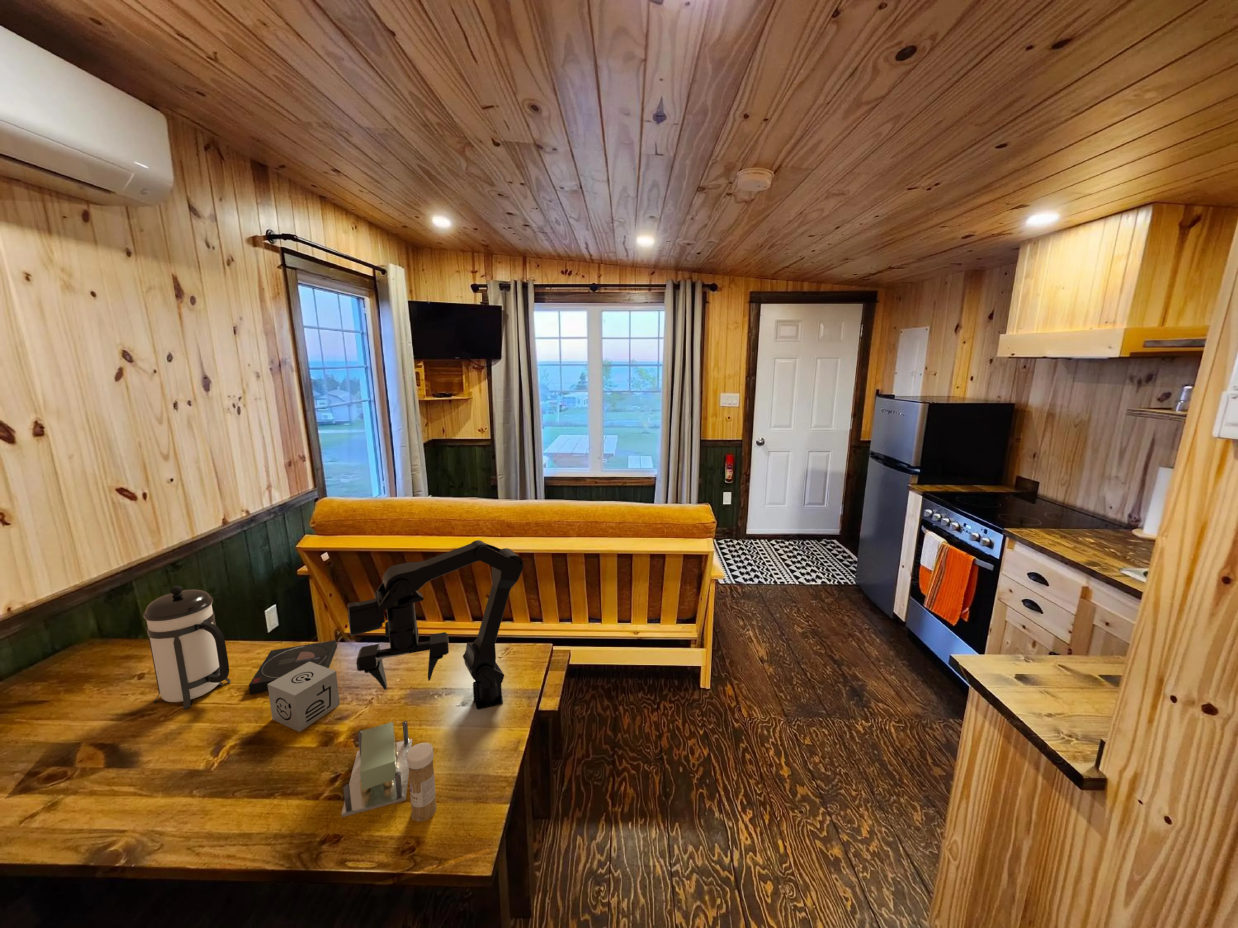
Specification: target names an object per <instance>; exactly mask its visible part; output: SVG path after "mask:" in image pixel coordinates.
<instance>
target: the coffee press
mask: <svg viewBox="0 0 1238 928" xmlns="http://www.w3.org/2000/svg"><path fill="white" fill-rule="evenodd" d="M169 592H170V593H167V594H164V595H161V596H159V597H158V598H156V599H154V600H152V601H151V602H150V603H149V604H148V605H147V606H146V609H145V611H144V612H143V615H142V616H143V618H144V619H145V621H146V624H147V626H146V632H147V636H148V641H149V645H150V650H151V657H152V663H153V669H154V672H155V673H154V675H155V678H156V684H157V690H158V694H157V696H156V697H155V699H154V701H153V704H156V703H157V699H158V698H159V696H160V698H161V699H162V701H161V702H162V703H163V702H164V701H165V702H169V703H181V702H183V703H182V709H183V711H185V710H189V709H191V706H192V705H193V699H196V698H199V697H201V696H204V695H205V694H208V693H209V692H210V691H212V690H214V689H215V688H216V687H217V686H220V687H223V684H224V682H223V681H225V682H227V683H228V684H231V679H230V678H228V677H229V674H230V666H229V665H230V664H229V656H228V650H227V645H226V640H225V637H224V634H223V632H222V631H221V629H220V627H218V626H217V623H216V619H215V618H216V617H215V616H216V615H215V612H214V609H213V606H212V604H213V602H214V598H213V596H211V594H209V593H208V592H206V591H205V590H200V589H184V590H183V587H182V586H180V585H174V586H173V587H171V588H170V590H169Z"/></svg>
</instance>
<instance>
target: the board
mask: <svg viewBox="0 0 1238 928" xmlns="http://www.w3.org/2000/svg"><path fill="white" fill-rule="evenodd" d="M395 740H396V739H395V727H394V721H391V722H387V723H384V724H381V725H377V726H374V727H370V728H366V729H363V731H362V740H361V764H360V776H361V785H362V790H365V789H368V788H371V787H374V786H377V785H379V784H382V783H385V782H388V781H391V780H394V779H395V773H396V758H395V743H396V741H395Z"/></svg>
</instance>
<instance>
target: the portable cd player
mask: <svg viewBox="0 0 1238 928" xmlns="http://www.w3.org/2000/svg"><path fill="white" fill-rule="evenodd" d="M337 648H338V644H337V639H333V640H329V641H328V640H327V641H320V642H315V643H309V644H302V645H295V646H290V647H284V648H277V649H272V650H270V651H269V652H268V655H267V656H266V657H265V659H264V660H263V662H262V664H261V665H260V667H259V669H257V672H256V673H255V675H254V676H253V678H252V679H251V681H250V682H249V683H248V689H249V694H250V695H255V694H256V695H257V694H262V693H269V692H268V684H269V683H271V682H272V681H274V680H276V679H278V678H280V677H282V676H283V675H285V674H287V673H289V672H291V671H293V670H295V669H296V668H298V667H300V666H302V665H304V664H306V663H307V662H309V661H310V662H312V663H315V664H318V665H321V666H323V667H326V668H329V669H330V666H331V663H332V661H333V658H334V656H335V653H336V652H337Z"/></svg>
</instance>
